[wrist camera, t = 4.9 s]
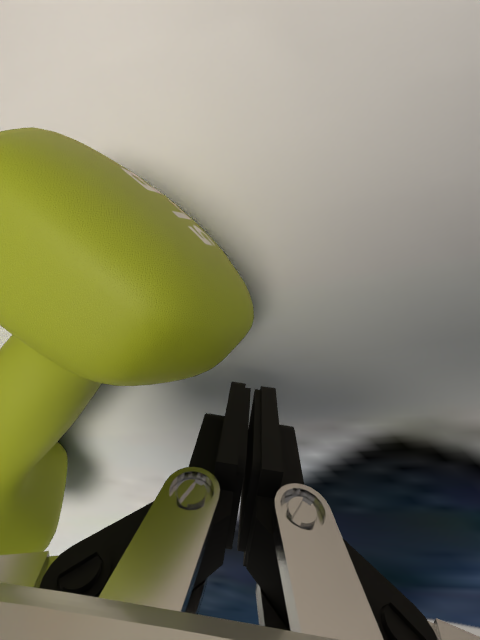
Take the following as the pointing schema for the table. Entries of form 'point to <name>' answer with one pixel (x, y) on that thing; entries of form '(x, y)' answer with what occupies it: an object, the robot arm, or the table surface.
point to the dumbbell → (92, 308)
